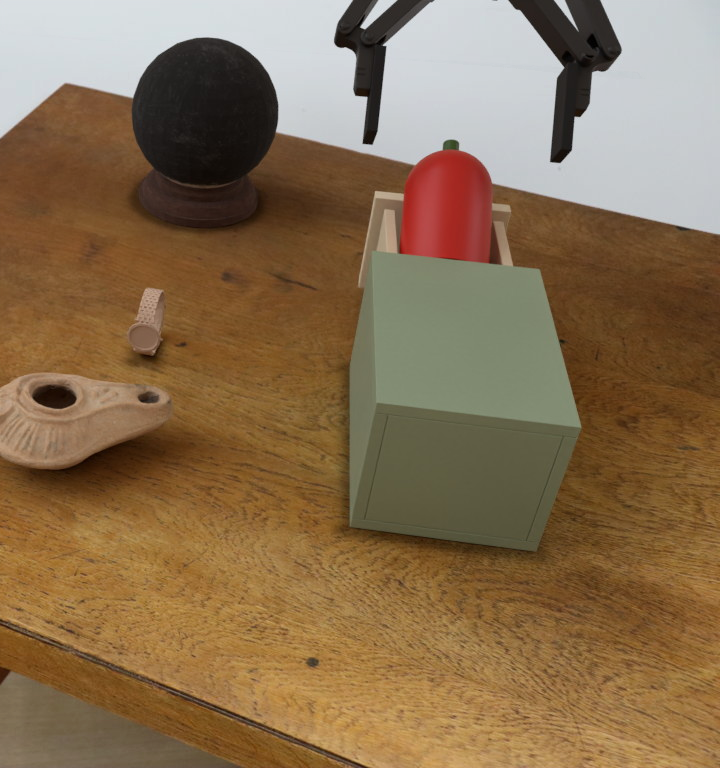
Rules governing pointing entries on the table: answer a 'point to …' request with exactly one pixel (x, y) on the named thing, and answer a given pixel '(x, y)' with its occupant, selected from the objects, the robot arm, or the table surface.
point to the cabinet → (457, 402)
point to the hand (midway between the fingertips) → (464, 147)
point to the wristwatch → (148, 322)
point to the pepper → (448, 207)
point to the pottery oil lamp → (74, 417)
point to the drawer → (388, 231)
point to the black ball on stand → (203, 131)
